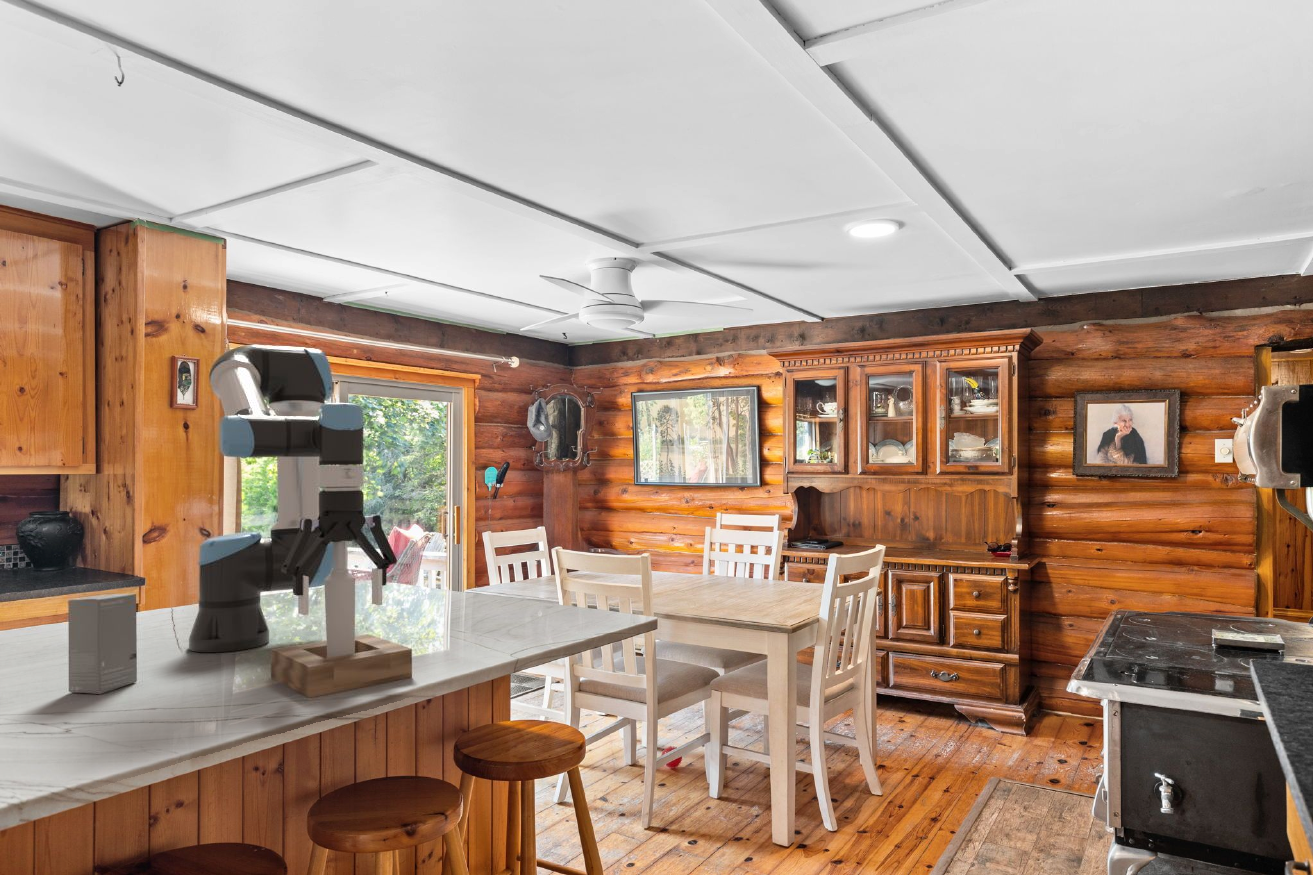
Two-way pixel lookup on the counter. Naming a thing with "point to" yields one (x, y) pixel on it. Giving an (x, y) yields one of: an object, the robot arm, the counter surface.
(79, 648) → the skincare box
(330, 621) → the bottle
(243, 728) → the counter surface
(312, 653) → the frame
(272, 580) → the robot arm
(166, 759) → the counter surface
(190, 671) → the counter surface
